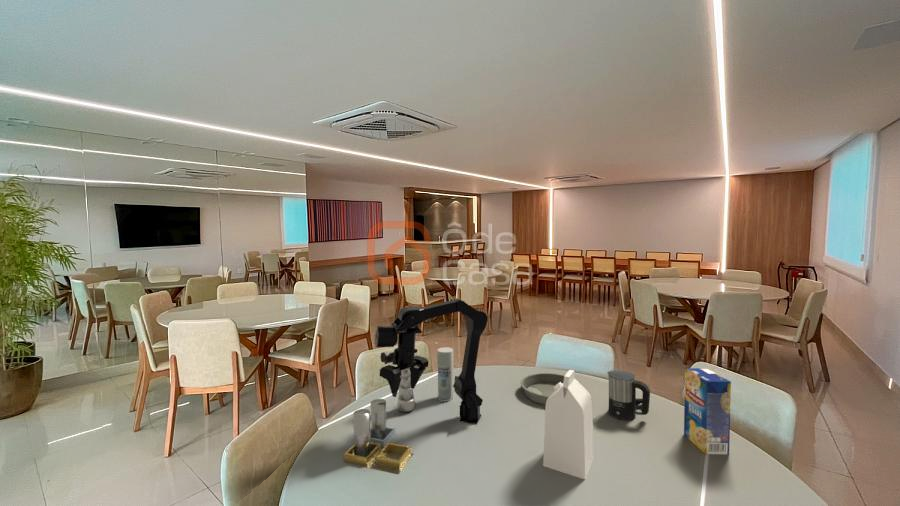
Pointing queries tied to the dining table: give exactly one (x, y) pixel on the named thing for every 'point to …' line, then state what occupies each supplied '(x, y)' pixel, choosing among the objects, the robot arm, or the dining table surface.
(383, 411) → the billet
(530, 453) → the dining table surface
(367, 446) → the billet twin
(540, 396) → the cake pan
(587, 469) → the milk
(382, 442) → the grey square dish
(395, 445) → the gold holder tray
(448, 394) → the spray can
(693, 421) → the blue cardboard box
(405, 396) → the plastic bottle
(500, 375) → the dining table surface
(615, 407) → the milk frother
